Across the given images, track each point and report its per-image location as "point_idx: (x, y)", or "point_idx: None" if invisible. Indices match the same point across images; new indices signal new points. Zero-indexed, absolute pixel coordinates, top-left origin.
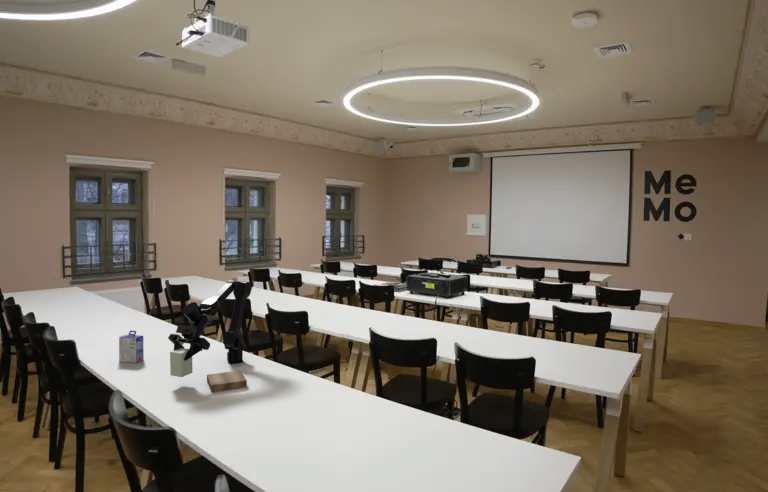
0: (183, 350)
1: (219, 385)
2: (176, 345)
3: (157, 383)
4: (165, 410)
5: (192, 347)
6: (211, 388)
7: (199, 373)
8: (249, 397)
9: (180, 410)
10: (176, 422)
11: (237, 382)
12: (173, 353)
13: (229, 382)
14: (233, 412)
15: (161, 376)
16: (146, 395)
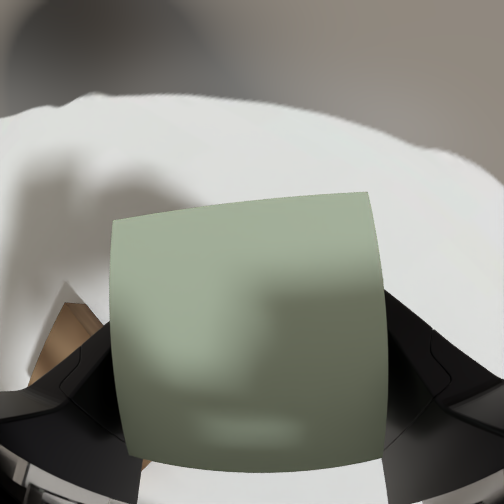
0: (202, 374)
1: (55, 327)
2: (451, 400)
3: (406, 271)
4: (132, 117)
5: (22, 391)
6: (74, 303)
7: (326, 475)
8: (5, 317)
9: (94, 143)
10: (75, 110)
11: (33, 375)
12: (285, 207)
13: (41, 360)
14: (3, 219)
15: (460, 345)
16: (307, 146)
